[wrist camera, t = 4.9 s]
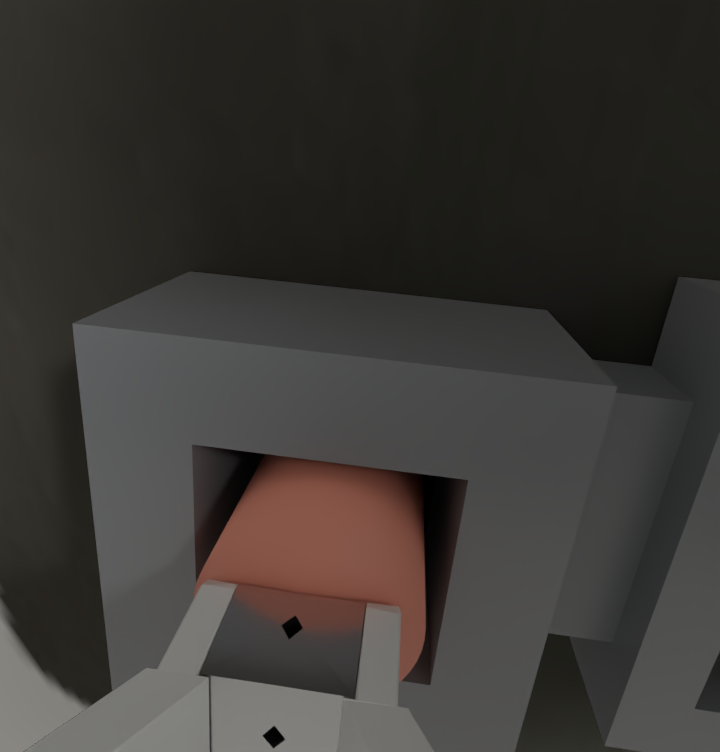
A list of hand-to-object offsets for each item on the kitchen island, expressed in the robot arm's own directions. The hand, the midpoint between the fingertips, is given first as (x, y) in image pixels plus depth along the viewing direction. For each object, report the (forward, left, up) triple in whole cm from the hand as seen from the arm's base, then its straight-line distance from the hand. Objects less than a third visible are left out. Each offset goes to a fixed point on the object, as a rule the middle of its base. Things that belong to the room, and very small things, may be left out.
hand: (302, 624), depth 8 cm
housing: (-7, 0, -6) cm, 9 cm away
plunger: (0, 0, -5) cm, 5 cm away
